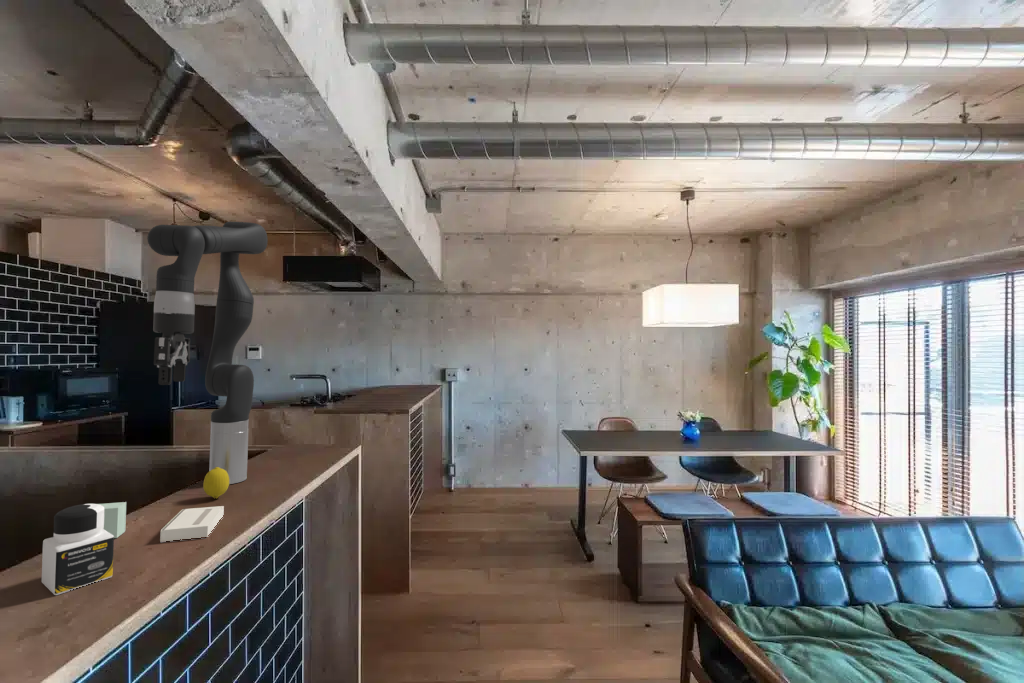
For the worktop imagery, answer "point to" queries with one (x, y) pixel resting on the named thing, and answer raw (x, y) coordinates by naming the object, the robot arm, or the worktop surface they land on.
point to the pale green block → (115, 518)
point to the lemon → (216, 482)
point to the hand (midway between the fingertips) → (172, 383)
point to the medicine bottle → (77, 549)
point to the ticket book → (192, 523)
